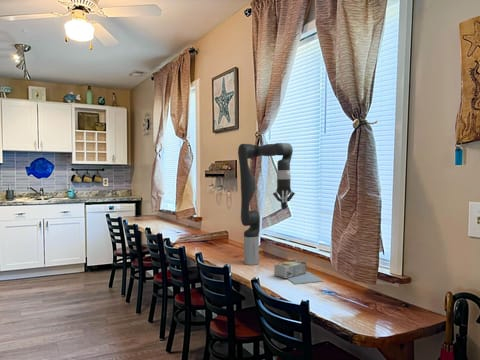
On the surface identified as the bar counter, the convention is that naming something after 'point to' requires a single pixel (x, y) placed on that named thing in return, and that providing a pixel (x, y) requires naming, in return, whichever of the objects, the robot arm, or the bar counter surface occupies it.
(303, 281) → the mat
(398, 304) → the bar counter surface
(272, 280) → the bar counter surface
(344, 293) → the bar counter surface
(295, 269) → the coffee box
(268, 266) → the bar counter surface
